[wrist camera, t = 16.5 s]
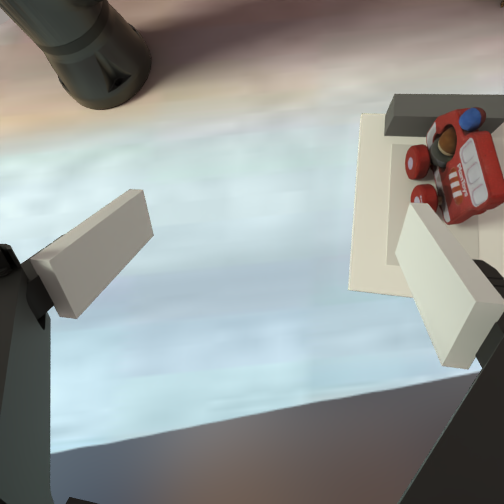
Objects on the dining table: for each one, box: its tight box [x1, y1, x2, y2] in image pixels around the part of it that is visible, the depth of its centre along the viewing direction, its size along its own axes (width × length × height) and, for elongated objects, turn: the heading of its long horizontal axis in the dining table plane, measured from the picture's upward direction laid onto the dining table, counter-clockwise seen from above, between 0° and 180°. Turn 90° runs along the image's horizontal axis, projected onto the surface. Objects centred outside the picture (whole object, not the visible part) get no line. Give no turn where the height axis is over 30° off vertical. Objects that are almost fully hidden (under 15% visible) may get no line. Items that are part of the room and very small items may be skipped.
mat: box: [348, 113, 504, 298], centre depth 36 cm, size 24×18×1 cm
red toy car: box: [405, 107, 504, 225], centre depth 31 cm, size 7×12×10 cm, turn 2°
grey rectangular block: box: [384, 94, 504, 137], centre depth 36 cm, size 3×12×4 cm, turn 82°
